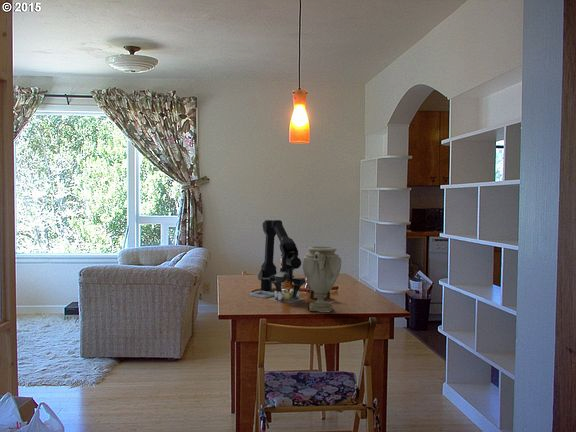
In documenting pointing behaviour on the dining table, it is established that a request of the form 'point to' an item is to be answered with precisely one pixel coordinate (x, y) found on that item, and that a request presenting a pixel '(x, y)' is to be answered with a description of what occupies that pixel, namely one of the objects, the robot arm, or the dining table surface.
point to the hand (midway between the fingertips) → (286, 296)
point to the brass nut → (287, 295)
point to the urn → (321, 274)
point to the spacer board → (288, 300)
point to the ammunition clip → (313, 296)
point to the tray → (262, 295)
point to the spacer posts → (280, 295)
